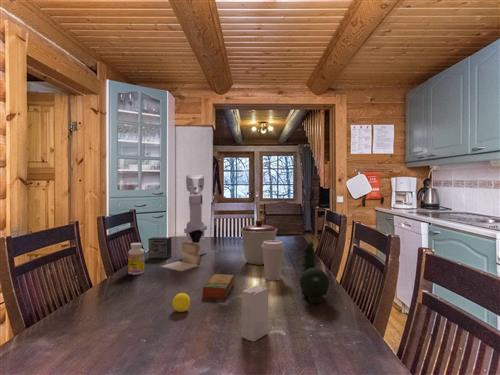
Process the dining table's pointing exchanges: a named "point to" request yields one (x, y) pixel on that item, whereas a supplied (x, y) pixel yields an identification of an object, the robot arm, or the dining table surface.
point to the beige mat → (179, 266)
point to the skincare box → (254, 313)
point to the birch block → (191, 252)
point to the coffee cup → (272, 259)
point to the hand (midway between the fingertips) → (195, 245)
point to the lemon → (181, 302)
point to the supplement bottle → (136, 259)
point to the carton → (218, 286)
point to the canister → (256, 241)
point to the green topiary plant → (313, 277)
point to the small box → (160, 248)
